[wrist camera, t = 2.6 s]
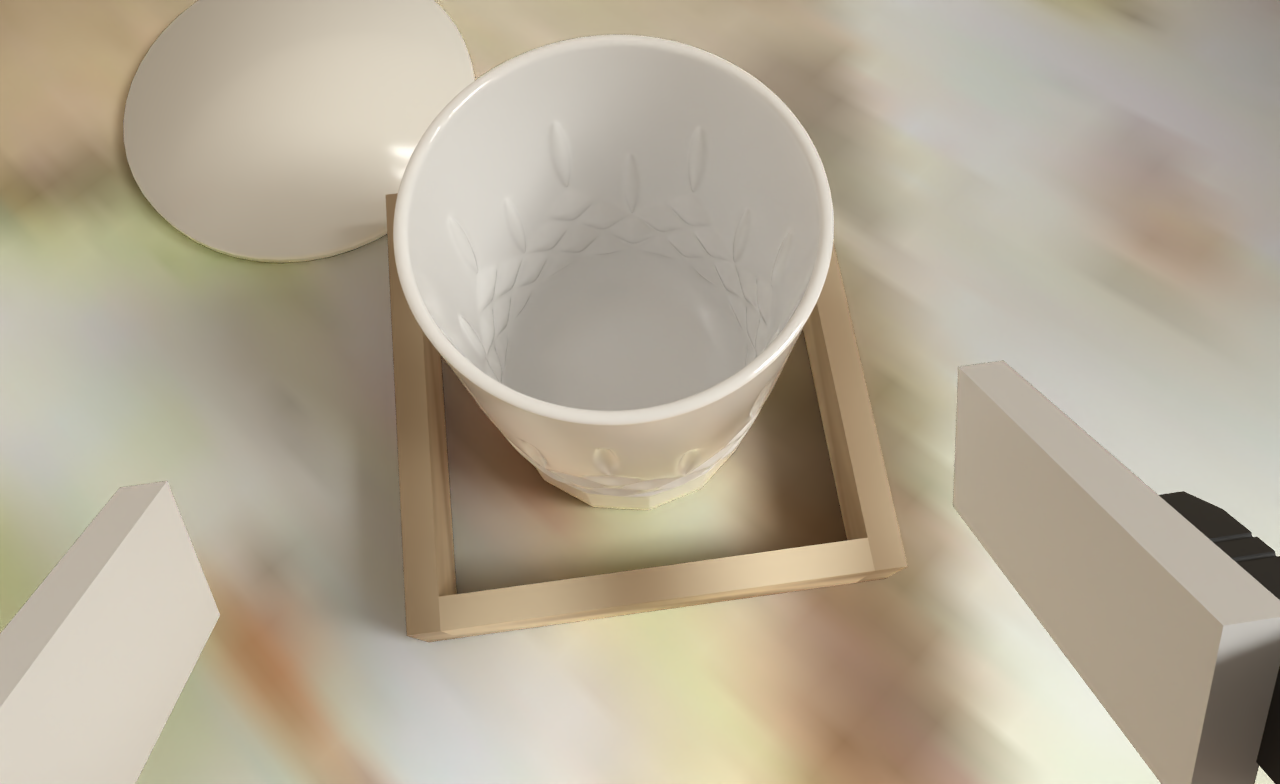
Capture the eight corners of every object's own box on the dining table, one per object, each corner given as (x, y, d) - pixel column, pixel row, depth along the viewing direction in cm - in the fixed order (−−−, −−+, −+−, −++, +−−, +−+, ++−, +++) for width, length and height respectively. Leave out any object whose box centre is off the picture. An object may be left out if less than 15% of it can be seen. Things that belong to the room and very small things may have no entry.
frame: (798, 183, 28) (810, 141, 26) (886, 578, 24) (907, 566, 22) (406, 233, 28) (385, 194, 25) (428, 642, 24) (406, 635, 22)
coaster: (464, -48, 31) (461, -58, 31) (490, 238, 27) (487, 231, 27) (138, -10, 31) (131, -18, 30) (121, 284, 27) (113, 278, 27)
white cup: (437, 364, 26) (313, 170, 17) (661, 221, 28) (663, -33, 18) (592, 592, 24) (550, 517, 15) (827, 425, 25) (927, 256, 16)
